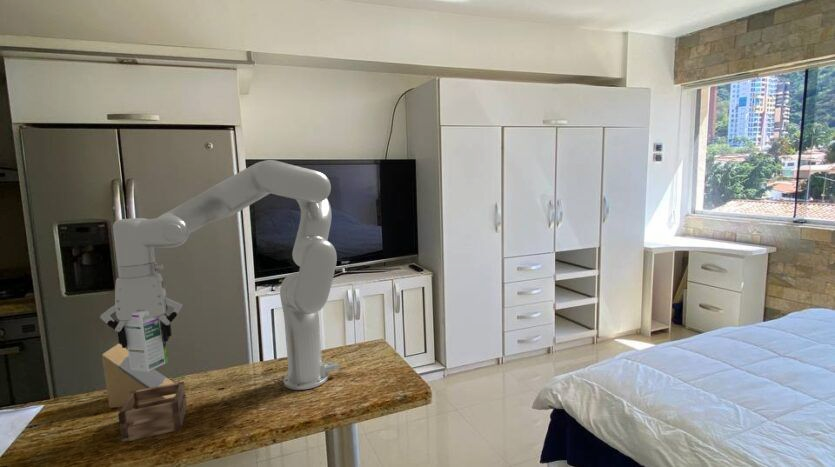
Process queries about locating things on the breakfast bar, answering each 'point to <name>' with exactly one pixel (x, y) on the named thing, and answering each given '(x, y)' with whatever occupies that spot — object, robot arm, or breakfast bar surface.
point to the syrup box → (145, 342)
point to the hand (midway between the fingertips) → (146, 342)
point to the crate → (152, 412)
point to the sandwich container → (128, 377)
